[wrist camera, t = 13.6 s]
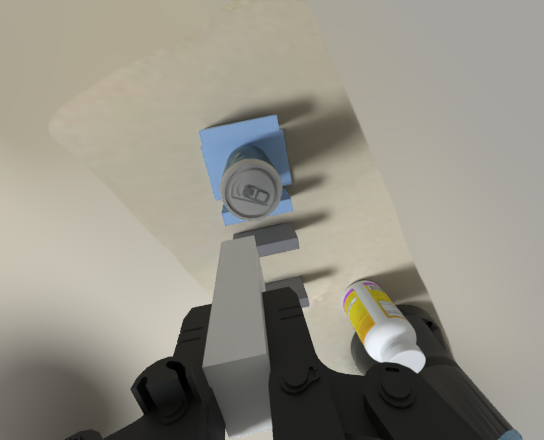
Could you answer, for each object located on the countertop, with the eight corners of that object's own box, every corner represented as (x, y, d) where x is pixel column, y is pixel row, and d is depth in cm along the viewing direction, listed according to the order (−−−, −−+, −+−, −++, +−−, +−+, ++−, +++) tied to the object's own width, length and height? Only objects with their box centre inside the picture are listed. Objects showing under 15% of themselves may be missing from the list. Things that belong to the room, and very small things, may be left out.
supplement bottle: (346, 318, 44) (384, 392, 33) (335, 287, 42) (373, 356, 30) (384, 303, 44) (437, 373, 32) (376, 272, 42) (430, 335, 30)
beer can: (277, 155, 33) (295, 176, 22) (259, 194, 35) (268, 232, 24) (235, 136, 32) (233, 149, 21) (219, 178, 33) (209, 210, 22)
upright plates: (301, 284, 41) (309, 306, 36) (250, 295, 41) (251, 319, 36) (271, 114, 32) (276, 114, 27) (204, 128, 31) (198, 131, 27)
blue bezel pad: (291, 183, 35) (292, 184, 35) (215, 199, 35) (215, 200, 34) (282, 129, 32) (283, 129, 32) (200, 146, 32) (200, 146, 32)
